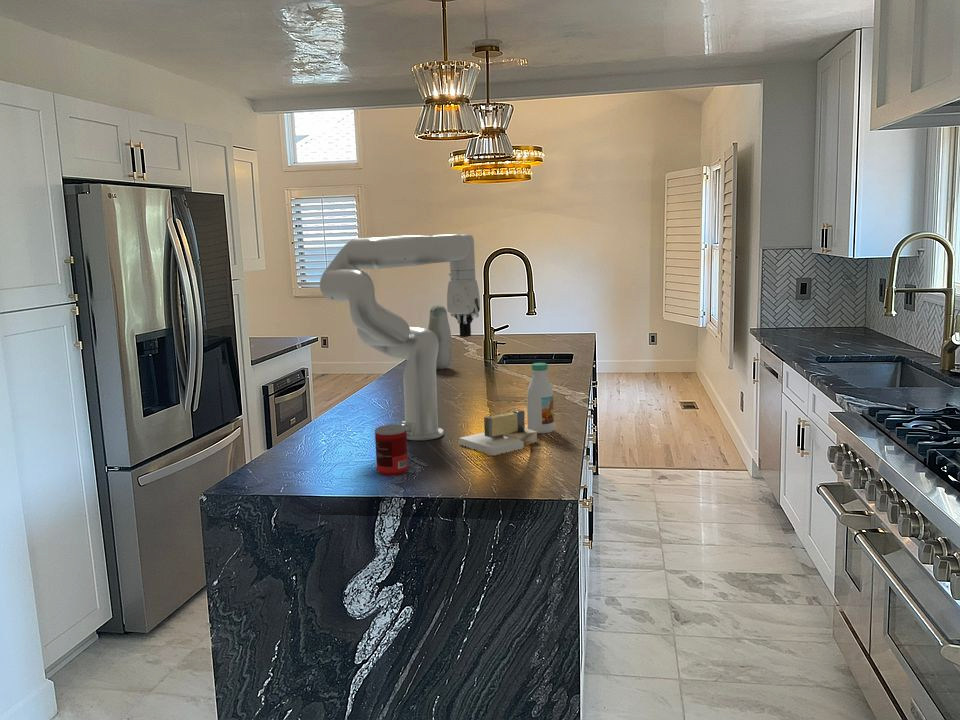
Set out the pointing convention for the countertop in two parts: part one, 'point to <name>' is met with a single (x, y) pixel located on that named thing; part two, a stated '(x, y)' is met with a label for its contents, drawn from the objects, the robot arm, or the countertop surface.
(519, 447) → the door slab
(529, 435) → the jamb block
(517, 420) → the bar
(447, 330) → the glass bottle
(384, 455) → the canned food
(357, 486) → the countertop surface
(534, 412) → the milk bottle
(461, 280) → the robot arm
